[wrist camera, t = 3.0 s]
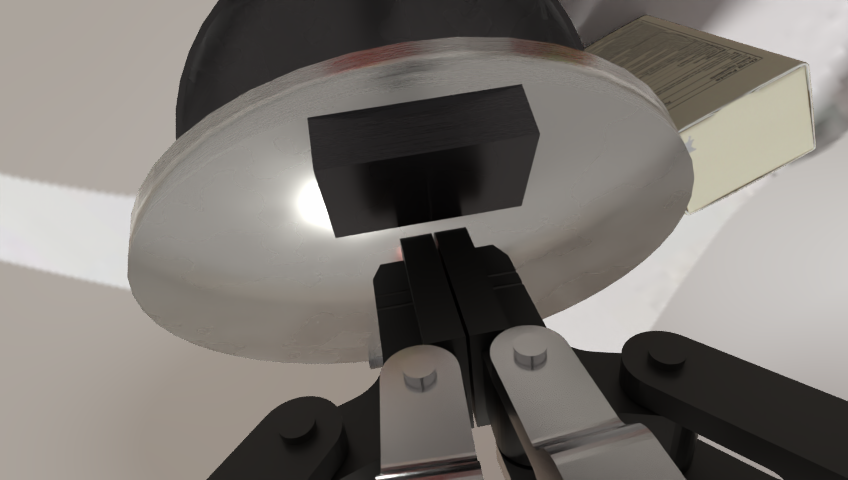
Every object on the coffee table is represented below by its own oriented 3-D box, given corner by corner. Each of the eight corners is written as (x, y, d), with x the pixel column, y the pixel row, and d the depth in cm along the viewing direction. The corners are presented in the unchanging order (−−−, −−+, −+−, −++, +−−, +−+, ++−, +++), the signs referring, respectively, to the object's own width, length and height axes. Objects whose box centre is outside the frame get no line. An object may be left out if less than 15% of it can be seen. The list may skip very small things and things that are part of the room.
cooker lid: (-36, 99, 10) (-81, 266, 8) (794, -24, 11) (893, 103, 10) (245, 361, 25) (248, 440, 23) (590, 297, 26) (615, 368, 24)
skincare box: (573, 127, 35) (680, 223, 24) (549, 66, 32) (655, 142, 22) (670, 75, 34) (823, 152, 23) (652, 8, 32) (813, 60, 21)
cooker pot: (185, -66, 26) (99, -47, 16) (502, -107, 27) (607, -114, 17) (269, 216, 34) (246, 347, 24) (510, 175, 36) (585, 284, 25)
